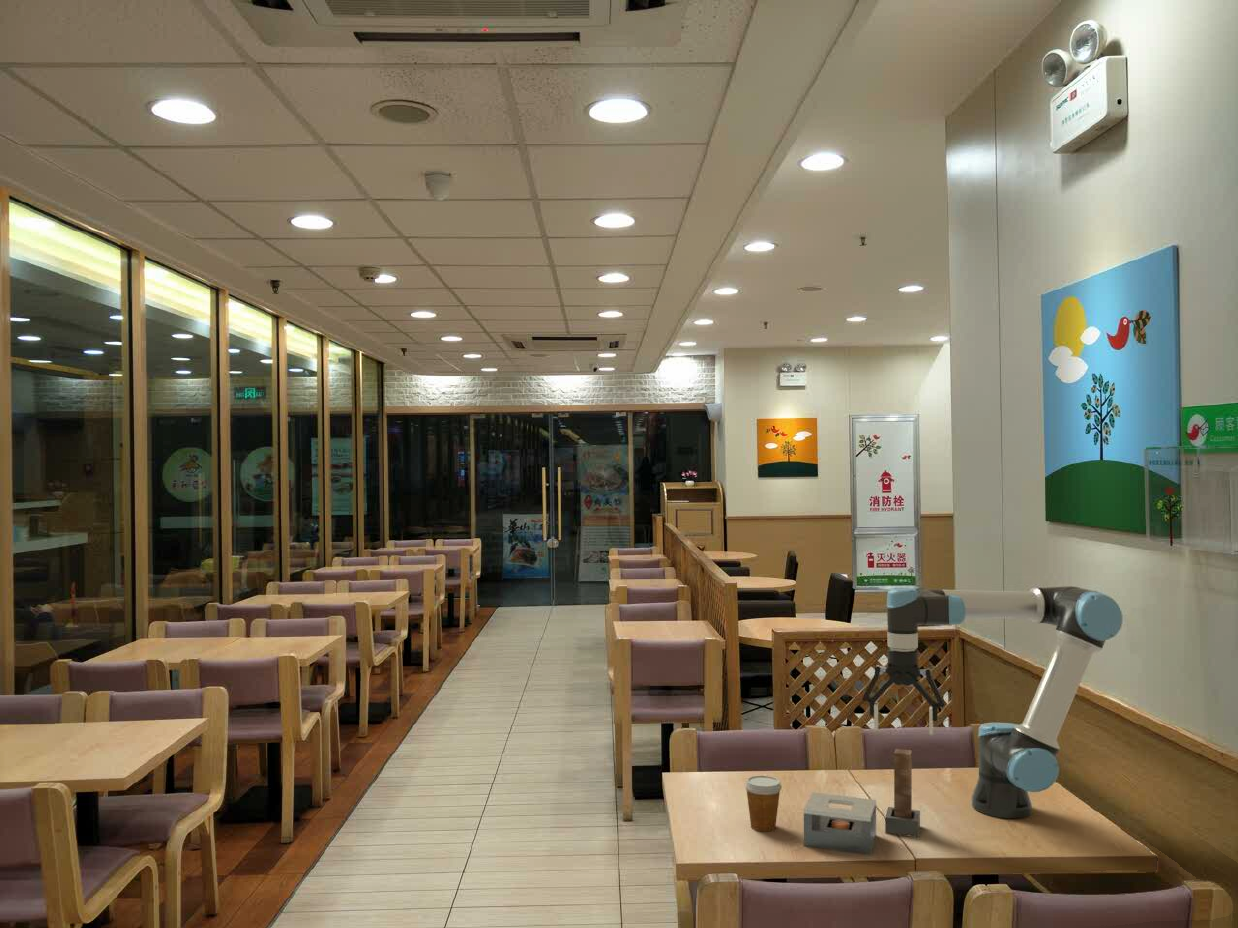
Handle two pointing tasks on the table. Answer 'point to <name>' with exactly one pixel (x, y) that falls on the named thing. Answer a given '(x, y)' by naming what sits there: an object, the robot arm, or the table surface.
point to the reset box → (858, 817)
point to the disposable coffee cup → (763, 801)
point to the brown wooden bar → (903, 783)
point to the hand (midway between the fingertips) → (903, 731)
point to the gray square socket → (902, 823)
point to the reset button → (840, 824)
